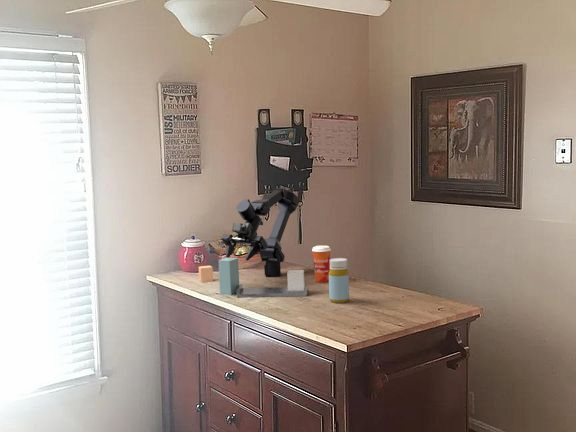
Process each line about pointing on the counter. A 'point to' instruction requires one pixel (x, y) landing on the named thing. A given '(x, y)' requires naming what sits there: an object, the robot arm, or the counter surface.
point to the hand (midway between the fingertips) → (236, 259)
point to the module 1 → (205, 274)
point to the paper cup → (321, 263)
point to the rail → (293, 289)
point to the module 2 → (228, 275)
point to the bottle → (338, 280)
